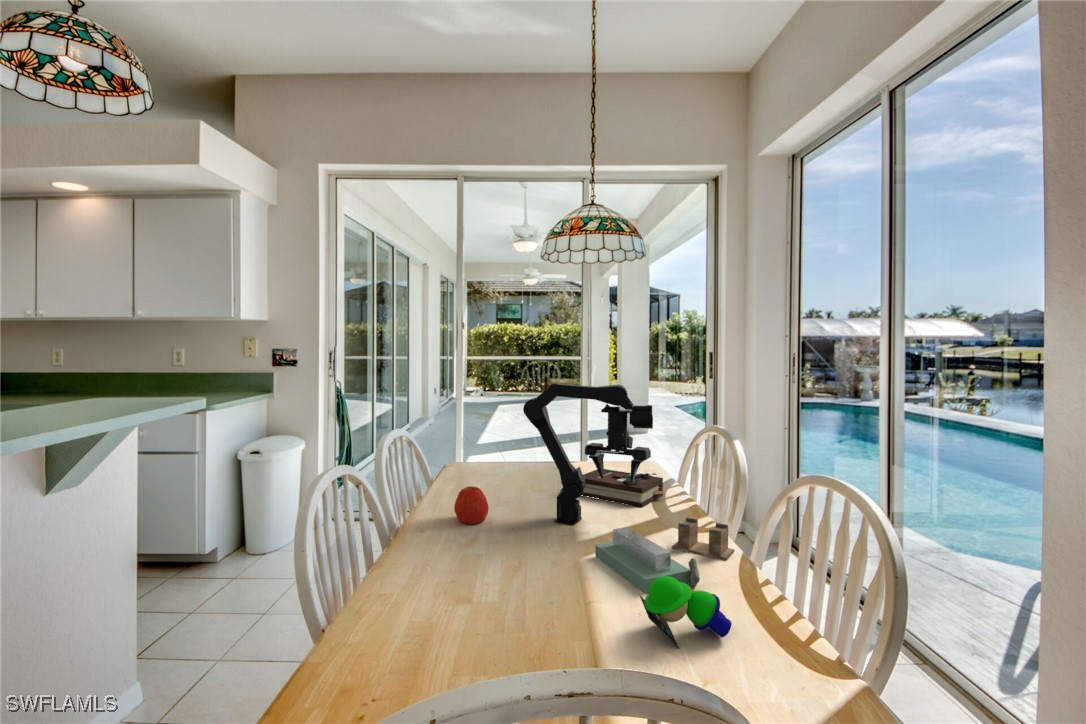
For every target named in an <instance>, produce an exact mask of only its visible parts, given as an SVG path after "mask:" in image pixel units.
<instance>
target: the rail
mask: <svg viewBox="0 0 1086 724" xmlns="http://www.w3.org/2000/svg"><path fill="white" fill-rule="evenodd" d="M612 532H613V533H612V534H613V535H612V536H613V537H612V538H613V539H612V540H613V541H612V542H613V545H614V546H615V547H617V548H618V549H620V550H622V551H623V552H625V553H626V554H628V555H629V556H631V557H632V558H634V559H635V560H637V561H638V562H640V563H641V564H643V565H644V566H646V567H648V568H649V569H651V570H652V571H654V572H655V573H657V572H662V571H667V570H671V559H672V557H671V554H672V553H671V551H670V550H668V549H666V548H664V547H663V546H661V545H659V544H657V543H656V542H654V541H652V540H650V538H647V537H645V536H643V535H641V534H640V533H638V532H636V531H634V530H633V529H631V528H630V527H627V526H626V527H619V528H613V529H612Z"/></svg>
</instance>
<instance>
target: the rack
mask: <svg viewBox="0 0 1086 724" xmlns="http://www.w3.org/2000/svg"><path fill="white" fill-rule="evenodd" d="M677 524H678V526H677V528H678V529H677V530H678V531H677V532H678V533H677V537H678V538H677V542H675V543H674V544H673V545H672V546H671V548H672V549H673V550H678V551H681V550H682V552H686V551H687V553H690V552H691V553H690V554H696V555H700V556H705V557H710V558H714V559H718V560H723V561H726V560H727V561H728V560H729V558H730V557H731V556H732V555H733V554H734V553H735V548H731V547H729V524H725V523H720V522H716V523H715V526H714V527H713V528H709V529H708V543H706V542H702V541H698V539H699V538H698V536H699V535H698V533H699V531H698V528H699V520H698V518H694V517H688V516H687V517H685V521H684V522H679V523H677Z"/></svg>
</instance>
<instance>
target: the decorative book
mask: <svg viewBox="0 0 1086 724" xmlns="http://www.w3.org/2000/svg"><path fill="white" fill-rule="evenodd" d="M583 475H584V476H585V477H586V479H585V488H584V491H583V493H582V495H583V496H589V497H594V498H599V499H603V500H602V501H604V500H608V501H607V502H609V501H614V502H613V503H615V502H619V503H618V504H620V503H624V504H623V505H625V504H628V505H627V506H630V505H632V506H631V507H636V508H644V507H646V506H648V505H649V504H651V503H653V502H654V501H656V500H658V499H660V498H661V497H663V496H664V495H663V494H665V491H664V478H663V477H660V476H657V473H656V472H655V473H652V474H651V473H647V472H646V473H636V476H635V478H634V481H633V482H631V472H628V471H627V472H626V471H621V470H619V471H618V470H614V469H606V468H604V478H603V479H601V477H600V474H599V472H598V470H597V469H594V470H592V471H589V472H586V473H583ZM655 475H656V476H655ZM583 496H582V497H583ZM594 498H593V499H594ZM599 499H598V500H599Z"/></svg>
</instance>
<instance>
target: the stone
mask: <svg viewBox="0 0 1086 724" xmlns="http://www.w3.org/2000/svg"><path fill="white" fill-rule="evenodd" d="M688 567H689V568H688V569H690V570H691V584H692V588H693V587H694V588H693V589H695V587H696V586H697V585H698V583H700V580H701V577H700V572H699V571H700V570H699V568H698V563H697V560H696V558H690V560H689V561H688Z"/></svg>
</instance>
